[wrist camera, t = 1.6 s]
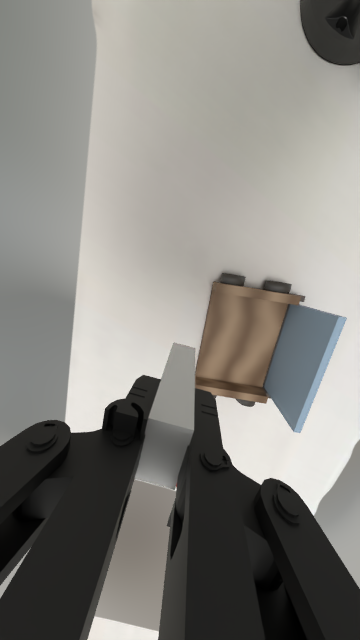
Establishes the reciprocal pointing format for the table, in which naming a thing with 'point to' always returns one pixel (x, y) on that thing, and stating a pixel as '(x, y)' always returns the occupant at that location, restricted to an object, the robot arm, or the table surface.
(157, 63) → the table surface
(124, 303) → the table surface
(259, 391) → the trailer bed
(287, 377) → the panel
